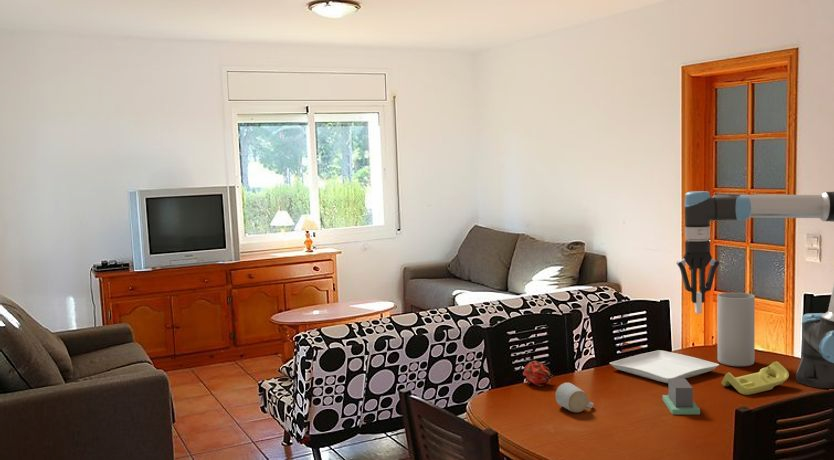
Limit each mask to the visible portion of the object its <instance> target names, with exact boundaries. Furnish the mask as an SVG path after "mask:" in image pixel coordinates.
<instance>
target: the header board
mask: <svg viewBox="0 0 834 460" xmlns="http://www.w3.org/2000/svg"><path fill="white" fill-rule="evenodd" d="M662 401H663V403H664V405H665V406H666V407H667V409H668V410H669V412H670V413H671V415H701V408H699V406H698V404H697V403H696V402H695V401H694V400H693V407H675V406H674V404H673V403H672V401H671V400H670V398H669V397H668V394H662Z"/></svg>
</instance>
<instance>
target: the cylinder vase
mask: <svg viewBox="0 0 834 460" xmlns="http://www.w3.org/2000/svg"><path fill="white" fill-rule="evenodd" d="M716 297H717V307H716V309H717V311H716V312H717V319H716V320H717V321H716V322H717V326H716V327H717V361H718V362H719V363H720V364H721V365H724V366H730V367H734V368H735V367H739V368H741V367H743V368H744V367H750V366H752V365H754V363H755V335H756V333H755V332H756V331H755V321H756V319H755V318H756V317H755V315H756V313H755V308H756V307H755V305H756V304H755V302H756V301H755V297H756V296H755V295H754V294H752V293H747V292H746V293H745V292H721V293H718V294H717V296H716Z"/></svg>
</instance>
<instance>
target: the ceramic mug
mask: <svg viewBox="0 0 834 460" xmlns="http://www.w3.org/2000/svg"><path fill="white" fill-rule="evenodd" d="M555 401H556V403H557V404H558V405H559V406H560V407H563V408H564V409H566V410H568V411H569V412H572V413H574V414H575V413H582V412H583V411H585V410H586V408H589V409H593V406H594V403H593V402H591V401H589V397H588V394H587V393H586V392H585V391H584V390H582V389H581V388H579V387H578V386H576V385H574V384H573V383H571V382H563V383H562V384H560V385H559V386H558V387H557V388H556V391H555Z"/></svg>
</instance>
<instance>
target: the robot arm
mask: <svg viewBox="0 0 834 460" xmlns="http://www.w3.org/2000/svg"><path fill="white" fill-rule="evenodd" d="M750 218H769V219H771V218H772V219H773V218H774V219H775V218H776V219H777V218H779V219H780V218H781V219H783V218H784V219H786V218H787V219H788V218H789V219H819V220H821V221H822V222H833V223H834V191H823V192H821V193H820V194H725V193H718V194H715V195H713V196H710V191H708V190H707V191H706V190H705V191H702V190H698V191H697V190H696V191H695V190H694V191H688V192H686V193H685V196H684V239H685V241H684V251H685V252H684V256H683V259H681V260H679V261H677V262H676V265H677V267H678V268H679V270H680V274H681V278H682V281H683V285H684V289H685V291H687V292H690V293H691V303H693V304H694V313H696V314H702V313H703V312H702V311H703V310H702V309H703V306H702V305H703V304H702V303H705V302H706V300H705V299H706V298H705V297H706V293H707V292H709V291H711V289H712V286H713V282H714V278H715V274H716V270H717V268H718V267H719V265H720V261H718V260H716V259H713V258H712V257H713V256H712V254H711V241H710V238H711V221H712V222H715V221H717V222H718V221H738V222H740V221H745V220H746V221H747V220H748V219H750ZM686 264H687V265H688V267H689V269H690V280H689V278H688V277H689V276H688V274H687V268H686ZM708 265H709V270H708V273H707V278H706V267H708ZM697 272H698V274H697ZM697 275H698V281H697ZM697 282H698V283H697ZM698 285H699V287H697V286H698ZM697 288H698V289H697ZM697 290H698V291H697ZM828 305H829V306H828V308H827V309H828V310H827V311H826V312H825V313H823V312H819V313H817V312H816V313H814V312H813V313H812V312H811V313H805V314H803V316H802V322H801V327H802V329H801V351H802V352H801V353H802V354H801V360H800V362H799V365H798V368H797V370H796V373H795V379H796V382H798V383H800V384H801V385H803V386H807V387H808V386H809V387H812V388H821V389H834V285H833V287H832V291H831V296H830V301H829V304H828Z"/></svg>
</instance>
